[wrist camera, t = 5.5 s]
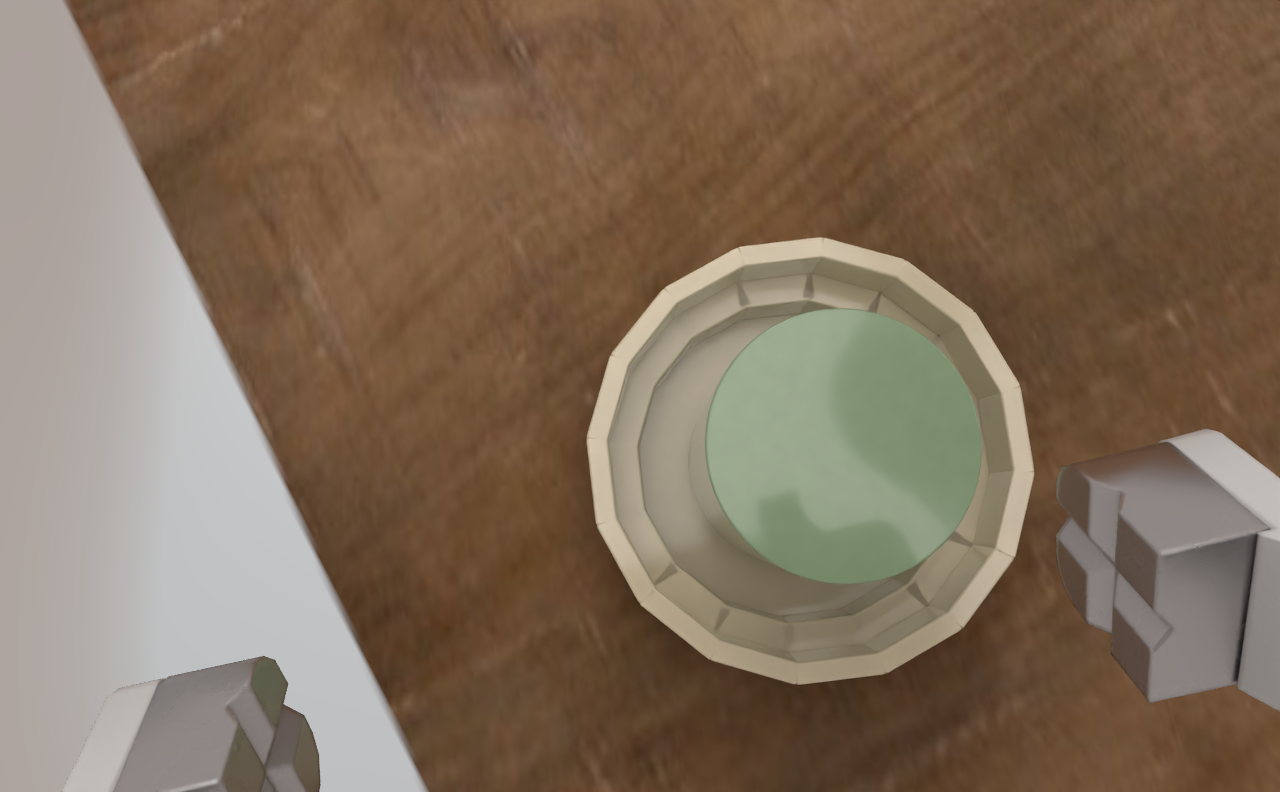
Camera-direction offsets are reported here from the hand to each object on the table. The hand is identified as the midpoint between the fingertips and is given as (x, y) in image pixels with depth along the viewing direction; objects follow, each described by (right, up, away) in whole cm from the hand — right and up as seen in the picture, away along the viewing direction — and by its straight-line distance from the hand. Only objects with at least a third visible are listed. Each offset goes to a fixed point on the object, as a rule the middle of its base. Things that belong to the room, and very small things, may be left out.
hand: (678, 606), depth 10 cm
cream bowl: (+4, 0, +22) cm, 22 cm away
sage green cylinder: (+4, 0, +21) cm, 22 cm away
